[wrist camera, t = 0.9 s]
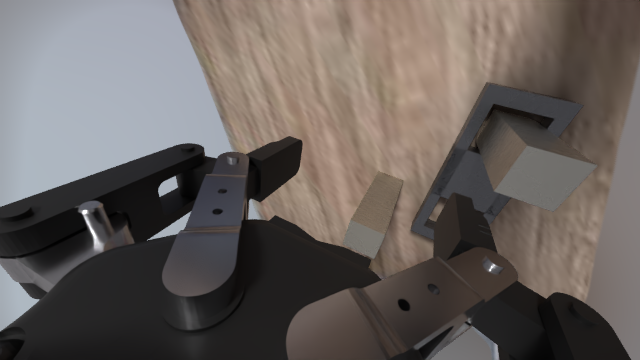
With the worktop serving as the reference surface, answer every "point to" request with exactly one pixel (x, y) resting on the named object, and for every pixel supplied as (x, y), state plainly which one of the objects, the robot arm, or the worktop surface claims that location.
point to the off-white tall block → (373, 215)
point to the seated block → (530, 161)
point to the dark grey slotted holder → (466, 162)
